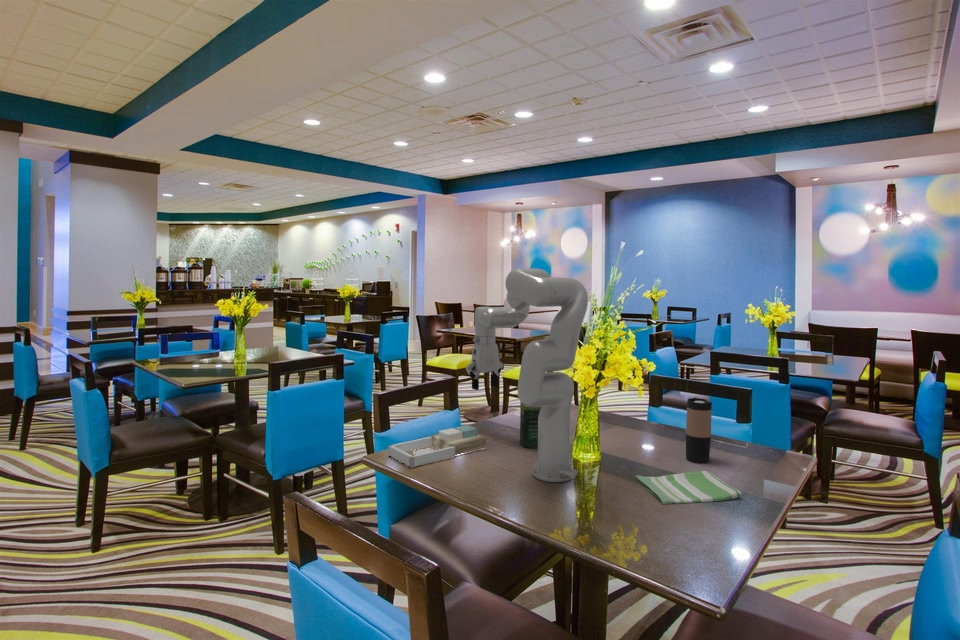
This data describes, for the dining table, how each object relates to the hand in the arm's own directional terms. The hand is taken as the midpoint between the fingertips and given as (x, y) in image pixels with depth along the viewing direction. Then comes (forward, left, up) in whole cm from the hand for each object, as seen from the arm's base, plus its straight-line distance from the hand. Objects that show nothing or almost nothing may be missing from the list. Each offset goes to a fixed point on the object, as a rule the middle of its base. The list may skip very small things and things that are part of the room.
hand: (484, 387), depth 191 cm
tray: (0, +27, -20) cm, 34 cm away
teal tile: (0, +9, -16) cm, 18 cm away
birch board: (0, +12, -20) cm, 23 cm away
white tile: (0, +15, -16) cm, 22 cm away
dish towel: (-70, -17, -21) cm, 75 cm away
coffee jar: (-13, -11, -20) cm, 27 cm away
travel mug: (-59, -43, -20) cm, 76 cm away
